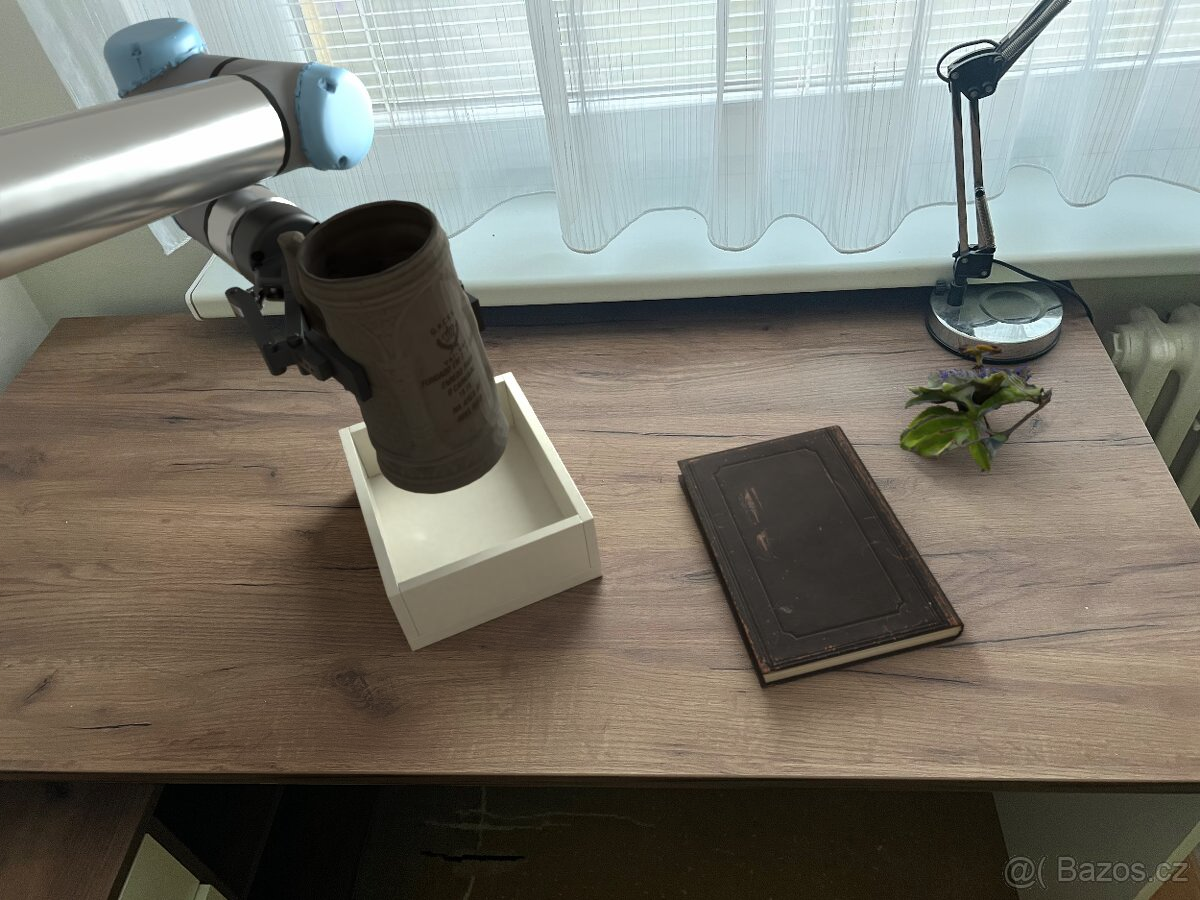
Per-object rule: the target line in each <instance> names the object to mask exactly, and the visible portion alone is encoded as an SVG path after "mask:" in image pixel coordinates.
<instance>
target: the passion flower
mask: <svg viewBox="0 0 1200 900" xmlns="http://www.w3.org/2000/svg"><path fill="white" fill-rule="evenodd" d="M957 351H958V354H960V355H962V356H967V358H975V361H976V364H975V365H974V366H973V367H972V368H970V369H968V370H967V369H966V370H964V369H962V368H960V369H956V368H953V369H948V368H947V369H945V370H943V369H942V370H941V369H938V368H937V369H936V371H938V372H930V374H929V375H928V376H927V379H926V381H925V384H926V385H927V386H924V385H920V384H919V385H918V388H916V387H911V386H908V387H907V388H908V390H909V391H910V392H911V393H912V394H913V395H916V396H913V397H911V398H910V399H908V401H906V402H905V403H904V407H903V409H905V410H907V409H908V408H911V407H913V406H915V405H917V406H920V405H923V404H935V405H931V406H928V407H927V408H926V409H925V410H923V411H921V412H920V413H919V414H918V415H916V416H915V417H914V419H912V421H911V422H910V423H909V424H908V426H907V427H905V428H904V429H903V430H902V431H901V432H900V434H899V441H900V442H899V448H900V449H902V450H903V451H907V452H915V453H916V454H917V455H918V456H921V457H926V458H928V457H937V458H939V459H942V458H943V457H944V455H945V454H946V453H949V452H951V451H953V450H955V449H957V448H959V447H962V448H966V447H968V451H969V452H970V455H971V458H972V459H973V460H974V461H975V462H976V464H977V465H978V466H980V468H982V469H981V473H985V471H986V472H988V473H989V472H990V471H991V469H992V467H991V463H992V460H993V459H994V457H995V456H996V454H997V453H998V451H999V450H1000V448H1001V447H1002V446H1003V445H1004V444H1005V443H1006V442H1007V441H1008V440H1009V438H1010V436H1011V435H1012V433H1014V431H1016V430H1017V429H1018V428H1019V427H1021V426H1022V425H1023V424H1024V423H1025V422H1026V421H1028V420H1029V419H1030V418H1031V417H1033V416H1034V415H1035V414H1037V413H1038V412H1040V411H1041V410H1042V409H1044V408H1045V407H1046V405H1048V404H1049V403H1050V402H1051V400H1052V396H1053V391H1052V390H1053V387H1052V386H1051V387H1050V388H1049V389H1048V390H1046V391H1045V389H1044V387H1037V386H1036V385H1035V384H1033V383H1032V384H1029V383H1028V381H1029V380H1030V378H1032V377H1033V375H1032V374H1029V373H1030V372H1031V368H1030V367H1028V366H1022V367H1019V368H1013V369H1012V368H1009V367H1008V368H1001V369H999V368H998V367H994V366H991V367H989V368H986V367H985V366H984V364H983V358H984V357H985V356H994V355H998V354H1003V353H1004V351H1005V349H1004V348H1003V347H999V346H997V345H986V344H980V343H978V344H963V345H959V346H958V347H957ZM1022 402H1029V403H1032V404H1035V405H1037V407H1035V408H1034V409H1033V410H1031V411H1029V413H1026V415H1025V416H1024V417H1022V418H1021V419H1020V420H1019V421H1018V422H1016V423H1015V424H1013V426H1012V427H1010V428H1009V429H1005V430H1003V431H995V430H993V429H992V427H991V426H990V424H989V422H988V420H987V417H986V415H988V414H989V413H991V412H992V411H997V410H999V409H1000V408H1001V407H1002V406H1008V405H1013V404H1021V403H1022ZM946 403H955V405H956V408H957V410H958V411H956V410H954V409H953V408H951V407H948V406H945V405H943V404H946ZM983 420H984V422H983ZM984 424H985V425H984ZM981 432H984V433H986V434H987V435H989V436H985V435H983V434H982V433H981Z"/></svg>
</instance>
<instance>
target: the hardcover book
mask: <svg viewBox="0 0 1200 900" xmlns="http://www.w3.org/2000/svg"><path fill="white" fill-rule="evenodd" d="M676 463H677V465H678V469H679V471H680V474H678V475H677V477H678V480H679V483H680V485H681V488H682V491H683V493H684V495H685V498H686V500H687V501H686V502H687V503H688V506H689V508H690V511H691V513H692V517H693V518H694V521H695V524H696V525H697V528H698V530H699V533H700V536H701V539H702V541H703V544H704V546H705V548H706V551H707V553H708V557H709V558H710V562H711V564H712V566H713V570H714V571H715V574H716V576H717V579H718V581H719V585H720V586H721V589H722V591H723V594H724V596H725V599H726V602H727V604H728V606H729V609H730V612H731V614H732V617H733V619H734V622H735V624H736V627H737V629H738V632H739V634H740V637H741V639H742V642H743V645H744V647H745V650H746V653H747V655H748V657H749V660H750V662H751V665H752V667H753V670H754V672H755V675H756V678H757V681H758V682H759V684H760V688H761V689H766V688H770V687H774V686H777V685H783V684H786V683H790V682H794V681H797V680H802V679H805V678H810V677H813V676H817V675H823V674H826V673H830V672H834V671H838V670H841V669H846V668H849V667H854V666H859V665H862V664H865V663H870V662H874V661H877V660H881V659H886V658H890V657H894V656H898V655H902V654H906V653H909V652H915V651H916V650H917V651H918V650H922V649H926V648H930V647H933V646H938V645H941V644H946V643H951V642H954V641H955V640H957V639H958V638H960V637H962V634H963V632H964V629H965V624H964V622H963V621H962V619H961V617H960V616H959V615H958V612H957V611H956V609H955V607H953V605H952V603H951V602H950V600H949V597H947V595H946V594H945V591H944V589H942V587H941V586H940V584H939V582H938V581H937V578H936V577H935V576H934V574H933V573H932V571H931V570H930V568H929V566H928V564H927V563H926V562H925V560H924V558H923V557H922V554H921V553H920V552H919V550H918V549H917V547H916V546H915V543H913V541H912V538H911V537H910V536H909V534H908V533H907V531H906V529H905V528H904V526H903V525H902V523H901V522H900V520H899V518H898V516H897V515H896V514H895V512H894V510H893V509H892V507H891V505H890V504H889V502H888V500H887V499H886V497H885V496H884V494H883V492H882V491H881V489H880V488H879V486H878V484H877V483H876V481H875V480H874V478H873V476H872V475H871V473H870V471H869V470H868V469H867V467H866V466H865V464H864V462H863V461H862V459H861V457H860V456H859V454H858V452H857V451H856V450H855V448H854V446H853V444H852V443H851V441H850V440H849V438H848V437H847V435H846V433H845V431H844V429H842V427H841V426H840V425H837V424H834V425H829V426H825V427H821V428H817V429H812V430H808V431H803V432H799V433H793V434H790V435H786V436H781V437H777V438H776V437H775V438H772V439H768V440H764V441H758V442H754V443H750V444H746V445H741V446H736V447H733V448H728V449H724V450H719V451H715V452H709V453H706V454H701V455H697V456H692V457H688V458H684V459H679V460H677V461H676Z"/></svg>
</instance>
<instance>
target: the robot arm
mask: <svg viewBox="0 0 1200 900" xmlns="http://www.w3.org/2000/svg"><path fill="white" fill-rule="evenodd" d="M103 57H104V59H105V62H106V64H107V66H108V69H109V71H110V74H111V76H112V78H113V81H114V83H115V85H116V88H117V95H118V98H119V99H115V100H112V101H108V102H102V103H98V104H94V105H89V106H86V107H81V108H77V109H73V110H68V111H65V112H60V113H56V114H51V115H48V116H43V117H39V118H34V119H30V120H25V121H22V122H18V123H14V124H9V125H4V126H1V127H0V281H2V280H5V279H6V278H10V277H12V276H15V275H19V274H21V273H23V272H26V271H29V270H31V269H35V268H36V267H39V266H42V265H45V264H47V263H50V262H53V261H55V260H58V259H60V258H63V257H66V256H68V255H71V254H74V253H76V252H79V251H82V250H84V249H87V248H89V247H92V246H95V245H97V244H100V243H104V242H105V241H108V240H111V239H114V238H117V237H119V236H121V235H124V234H127V233H129V232H132V231H135V230H137V229H140V228H142V227H146V226H148V225H151V224H153V223H156V222H159V221H162V220H164V219H166V218H171V219H172V220H173V222H174V224H176V226H177V228H179V229H180V231H183V232H184V233H185V234H186V235H187V236H188V237H190V238H192V239H193V240H194V241H196V242H198V243H199V244H200V245H202V246H203V247H205V248H206V249H207V250H209V251H210V252H211V253H213V254H214V255H215V256H217V257H218V258H219V259H220V260H221V261H223V263H225V264H226V265H228V267H230V268H232V270H235V272H237V273H238V274H239V275H241V276H242V277H243V278H244V279H246V280H247V281H248V282H249V283H250V284H252V286H251V287H249V288H246V289H243V288H241V287H239V286H232V287H228V288H227V289H226V290H225V291H224V295H225V298H226V299H227V302H228V303H229V305H230V308H231V310H232V312H233V314H234V316H235V318H236V320H237V321H238V322H240V323H241V324H243V325H244V326H246V327H248V328H249V331H250V332H251V335H252V337H253V339H254V341H255V343H256V346H257V349H258V350H259V352H260V354H261V356H262V358H263V361H264V363H265V365H266V367H267V369H268V371H269V373H270V375H271V376H273V377H278V376H281V375H284V374H285V373H286V372H287V371H288V367H291V366H297V368H298V371H299V373H300V374H301V375H302V376H310V375H311V376H312V377H314V378H315V379H316V380H317V381H319V382H326V381H327V380H329V379H331V378H333V379H334V380H335V381H336V382H337V383H338V384H340V385H341V386H342V387H343V386H344V387H345V388H346V389H347V390H349V391H348V392H350V393H351V394H352V395H354V397H355V396H356V397H357V398H358V399H360V400H361V401H362V402H363V403H364V402H366V401H367V400H369V399H371V398H372V394H371V391H370V389H369V386H368V383H367V381H366V378H365V375H364V373H363V370H362V368H361V366H359V365H358V364H357V363H356V362H354V361H353V360H352V359H351V358H349V357H348V356H346V355H345V354H344V353H343V352H342V351H340V350H339V349H338V348H337V347H335V346H334V345H333V344H331V343H330V342H329V341H328V340H326V339H325V338H324V337H323V336H321V335H320V334H319V333H317V332H316V331H315V330H314V329H312V328H311V325H310V323H309V321H308V319H307V317H306V315H305V313H304V310H303V308H302V306H301V304H300V303H298V302H297V300H296V298H295V296H294V294H293V292H292V288H291V285H290V280H289V274H288V268H287V263H286V259H285V256H284V254H283V251H282V249H281V247H280V245H279V243H278V241H277V239H278V237H279V235H280V234H283V233H285V232H288V231H298V232H300V233H302V234H303V235H304V237H306V235H307V234H308V233H310V232H311V231H312V230H313V229H314V228H315V227H316V226H317V225H319V224H320V223H322V222H321V221H320V220H318V219H317V218H316V217H315V216H313V215H311V214H310V213H308V212H306V211H305V210H303V209H302V208H300V207H298V206H297V205H296V204H294V203H293V202H292V201H290V200H288V199H286V198H285V197H283V196H281V195H280V194H279V193H276V192H275V191H273V190H272V189H270V188H269V187H267V186H265V185H264V184H262V182H265V181H267V180H270V179H273V178H276V177H278V176H281V175H284V174H287V173H290V172H294V171H296V170H298V169H305V168H313V169H315V170H317V171H320V172H321V171H322V172H327V171H347V170H351V169H353V168H355V167H356V166H358V165H360V163H361V162H362V161H363V160H364V159H365V157H366V156H367V154H368V153H369V151H370V149H371V146H372V143H373V138H374V134H375V118H374V115H373V112H374V111H373V102H372V99H371V97H370V94H369V92H368V90H367V88H366V86H365V85H364V82H362V81H361V79H359V77H357V76H356V75H355V74H354V73H352V72H351V71H350V70H348V69H346V68H342V67H337V66H332V65H327V64H322V63H318V62H317V61H309V62H307V63H306V62H295V61H281V60H280V61H279V60H268V59H267V60H265V59H253V58H246V57H239V56H231V55H219V54H209V52H208V47H207V45H206V43H205V42H204V41H203V39H202V37H201V35H200V33H199V32H198V29H197V28H196V27H195V25H194V24H192V23H191V22H189V21H188V20H186V19H184V18H179V17H159V18H152V19H148V20H144V21H143V20H142V21H141V22H137V23H134V24H131V25H128V26H126V27H123V28H121V29H120V30H118V31H116V32H114V33H113V34H112V35H110V36H109V37H108V39H106V41H105V42H104V46H103ZM450 255H451V259H452V261H453V264H454V265H455V262H454V259H453V254H452V251H451V250H450ZM459 281H460V284H461V287H462V289H463V290H464V292H465V293H466V295H467V296H468V298H469V301H470V304H471V307H472V309H473V312H474V315H475V317H476V320H477V324H478V329H479V332H480V333H482V332H484V331H485V330H486V325H485V321H484V317H483V313H482V308H481V303H480V300H479V298H477V297H476V296H474V295H472V294H471V293H469V292H467V291H466V289H465V285H464V282H463V281H462V279H459ZM264 301H267V302H274V303H275V302H276V303H278V302H279V303H283V304H284V338H285V340H281V341H277V342H276V340H275V338H274V336H273V334H272V332H271V331H270V328H269V326H268V323H267V321H266V320H265V318H264V315H265V314H264V311H263V310H264V309H265V304H264ZM344 387H343V388H344Z"/></svg>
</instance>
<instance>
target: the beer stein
mask: <svg viewBox="0 0 1200 900" xmlns="http://www.w3.org/2000/svg"><path fill="white" fill-rule="evenodd" d="M440 223H441V222H440V221H439V219H438V218H437V216H436V214H435V213H434V212H433V211H432V210H431V209H430V208H429V207H426V205H423V204H421V203H419V202H415V201H408V200H400V199H398V200H397V199H386V200H377V201H372V202H366V203H362V204H359V205H355V206H353V207H350V208H347V209H345V210H342V211H339V212H338V213H335V214H334V215H332V216H330V217H329V218H327V219H325V220H323V221H322V222H321V223H320V224H319V225H317V226H316V227H315V228H314V229H313V230H312V231H311V232H310V233H308V234H307V235H306V237H304V235H303V234H302V233H300V232H298V231H288V232H285V233H283V234H280V235H279V237H278V239H277V241H278V243H279V245H280V247H281V249H282V251H283V254H284V256H285V259H286V263H287V268H288V274H289V280H290V285H291V288H292V292H293V294H294V296H295V298H296V300H297V302H298V303H300V304H301V306H302V308H303V310H304V313H305V315H306V317H307V319H308V321H309V323H310V325H311V330H313V329H314V330H315V331H316V332H317V333H319V334H320V335H321V336H323V337H324V338H325V339H326V340H328V341H329V342H330V343H331V344H333V345H334V346H335V347H337V348H338V349H339V350H340V351H342V352H343V353H344V354H345V355H346V356H348V357H349V358H351V359H352V360H353V361H354V362H356V363H357V364H358V365H359V366H361V368H362V370H363V373H364V375H365V378H366V381H367V383H368V386H369V389H370V391H371V394H372V398H371V399H369V400H367V401H366V402H364V403H363V402H362V401H361V400H360V399H358V398H357V397H356V396H355V395H354V398H355V401H356V403H357V405H358V407H359V410H360V414H361V418H362V420H363V422H365V425H366V428H367V432H368V436H369V439H370V441H371V444H372V446H373V447H374V449H375V450H376V457H377V462H378V465H379V468H380V470H381V472H382V474H383V475H384V477H385V478H386V479H387V480H388V481H389V482H390V483H392V484H393V485H394V486H396V487H398V488H400V489H403V490H405V491H409V492H413V493H420V494H439V493H445V492H449V491H453V490H457V489H459V488H462V487H464V486H467V485H469V484H471V483H473V482H474V481H476V480H478V479H480V478H481V477H483V476H484V475H485V474H486V473H487V472H489V471H490V470H491V469H492V468H493V467H494V466H495V465H496V464H497V463H498V461H499V460H500V458H501V456H502V455H503V453H504V451H505V448H506V446H507V443H508V435H509V425H508V421H507V418H506V417H505V415H504V413H503V411H502V410H501V408H500V400H499V396H498V393H497V386H496V382H495V379H494V377H495V375H494V369H493V366H492V363H491V360H490V358H489V356H488V354H487V351H486V348H485V345H484V342H483V339H482V336H481V332H479V329H478V324H477V320H476V317H475V315H474V312H473V309H472V307H471V304H470V301H469V298H468V296H467V295H466V293H465V292H464V290H463V289H462V287H461V284H460V281H459V275H458V273H457V270H456V267H455V263H454V260H453V261H452V259H453V258H452V259H451V255H452V254H451V255H450V251H451V244H450V240H449V238H448V234H447V232H446V231H445V230H444V228H443V227H442V225H441V224H440ZM453 263H454V264H453ZM342 387H343V389H344V391H346V392H350V391H349V390H347V389H346V388H345V387H344V386H343V385H342Z"/></svg>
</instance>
